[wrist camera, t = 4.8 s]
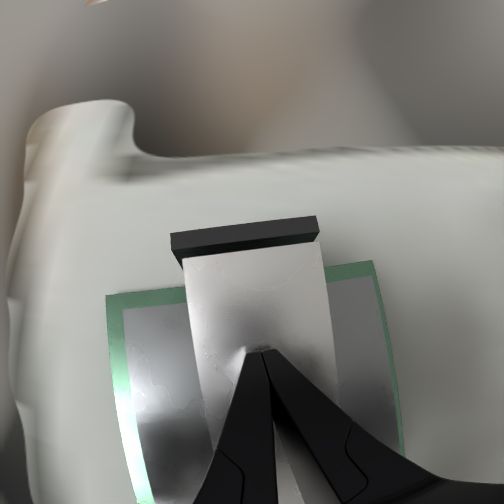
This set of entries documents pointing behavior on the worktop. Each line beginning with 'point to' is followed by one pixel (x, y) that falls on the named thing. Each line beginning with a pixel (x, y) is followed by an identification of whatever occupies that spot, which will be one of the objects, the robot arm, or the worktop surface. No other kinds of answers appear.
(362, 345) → the green grey square block
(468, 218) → the worktop surface
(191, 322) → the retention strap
